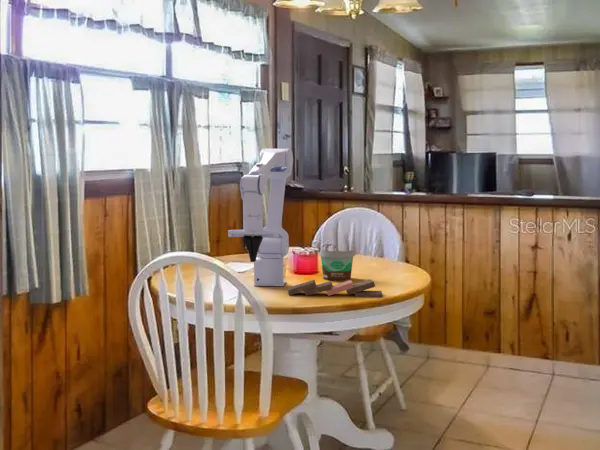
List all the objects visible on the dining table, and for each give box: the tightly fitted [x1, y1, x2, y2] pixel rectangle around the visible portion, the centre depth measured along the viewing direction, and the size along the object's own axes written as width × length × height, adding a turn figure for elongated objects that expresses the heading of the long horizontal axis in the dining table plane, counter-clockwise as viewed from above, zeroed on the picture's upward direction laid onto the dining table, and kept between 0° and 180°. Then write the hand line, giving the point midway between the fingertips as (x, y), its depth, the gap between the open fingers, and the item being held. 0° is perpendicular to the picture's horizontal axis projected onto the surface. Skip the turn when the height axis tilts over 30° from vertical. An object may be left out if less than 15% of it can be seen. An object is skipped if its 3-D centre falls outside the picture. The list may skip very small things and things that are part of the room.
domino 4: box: [345, 279, 376, 295], centre depth 213 cm, size 2×5×8 cm
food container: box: [318, 248, 356, 282], centre depth 237 cm, size 12×6×10 cm, turn 101°
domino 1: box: [287, 279, 317, 296], centre depth 214 cm, size 2×5×8 cm
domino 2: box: [304, 280, 334, 297], centre depth 213 cm, size 2×5×8 cm
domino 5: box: [354, 290, 383, 299], centre depth 212 cm, size 2×5×8 cm
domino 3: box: [326, 279, 354, 297], centre depth 213 cm, size 2×5×8 cm
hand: (253, 261), depth 210 cm, fingers closed
